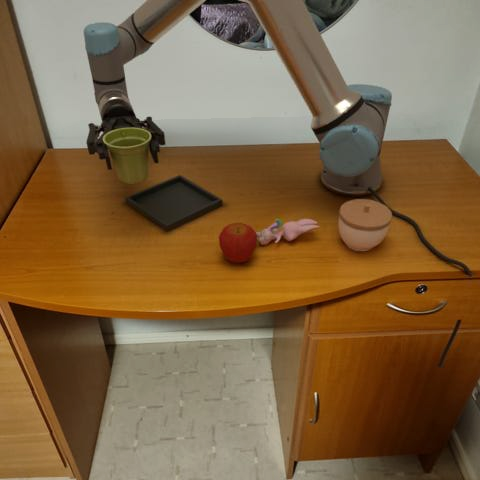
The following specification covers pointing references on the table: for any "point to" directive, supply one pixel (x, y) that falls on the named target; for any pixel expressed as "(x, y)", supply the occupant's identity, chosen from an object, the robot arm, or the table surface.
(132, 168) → the plant pot
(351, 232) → the trinket box
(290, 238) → the pink toy figurine
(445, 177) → the table surface
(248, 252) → the apple
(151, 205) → the drip tray
